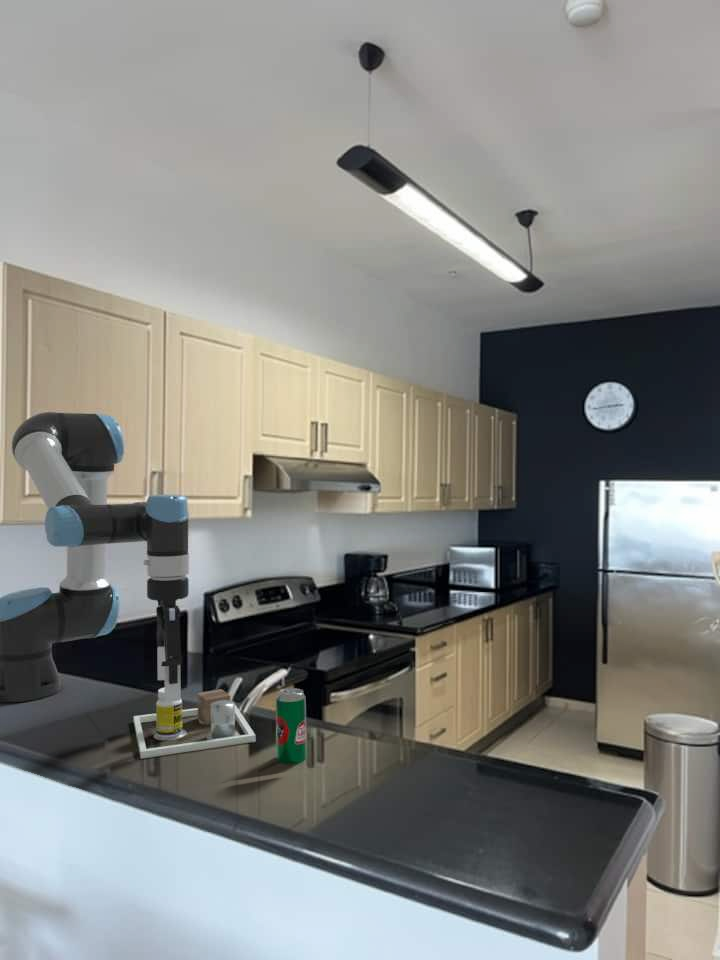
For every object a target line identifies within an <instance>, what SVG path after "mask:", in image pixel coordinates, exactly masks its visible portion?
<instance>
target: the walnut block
mask: <svg viewBox="0 0 720 960" xmlns="http://www.w3.org/2000/svg"><path fill="white" fill-rule="evenodd" d="M220 700H230V701H231V694H229V693H228V692H227V691H225V690H223V689H222V688H221V689H220V688H219V689H215V690H209V691H202V692H198V693H197V708H198V715H197V719H198V721H199V720H201V721H202V722H203V723H204V724H203V725H205V726H211V703H213V702H215V701H220Z"/></svg>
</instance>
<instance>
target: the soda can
mask: <svg viewBox="0 0 720 960" xmlns="http://www.w3.org/2000/svg"><path fill="white" fill-rule="evenodd" d="M306 699H307V698H306V696H305V694H304V690H303V689H300V688H297V687H296V688H295V687H291V688H290V687H289V688H288V687H287V688H283V689H280V690H278V692H277V696H276V697H275V726H276V727H275V728H276V729H275V730H276V733H275V734H276V737H275V738H276V760H277V762H278V763H281V764H285V765H287V764H288V765H296V764H300V763H303V762H304V761H305V760H307V754H308V753H307V707H306V706H307V704H306V703H307V702H306Z"/></svg>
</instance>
